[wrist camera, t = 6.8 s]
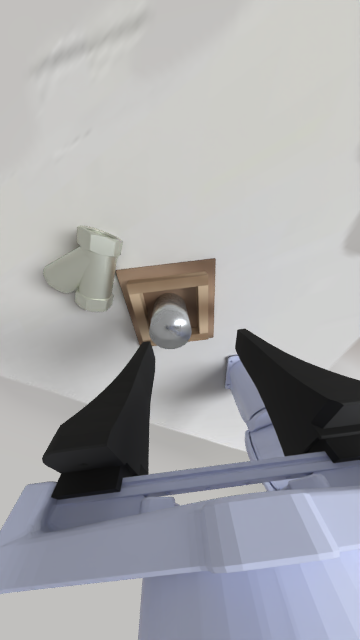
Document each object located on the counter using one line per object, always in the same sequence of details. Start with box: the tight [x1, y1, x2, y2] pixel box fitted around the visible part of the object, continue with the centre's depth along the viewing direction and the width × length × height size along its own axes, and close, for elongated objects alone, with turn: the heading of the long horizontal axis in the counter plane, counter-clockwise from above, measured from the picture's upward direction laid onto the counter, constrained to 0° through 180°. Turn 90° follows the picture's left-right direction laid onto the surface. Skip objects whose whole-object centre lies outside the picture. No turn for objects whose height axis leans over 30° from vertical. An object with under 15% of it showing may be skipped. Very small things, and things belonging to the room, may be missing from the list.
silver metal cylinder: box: [149, 293, 192, 349], centre depth 18 cm, size 4×4×6 cm
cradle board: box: [116, 258, 216, 346], centre depth 20 cm, size 12×12×3 cm
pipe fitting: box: [43, 226, 123, 312], centre depth 15 cm, size 8×4×7 cm
